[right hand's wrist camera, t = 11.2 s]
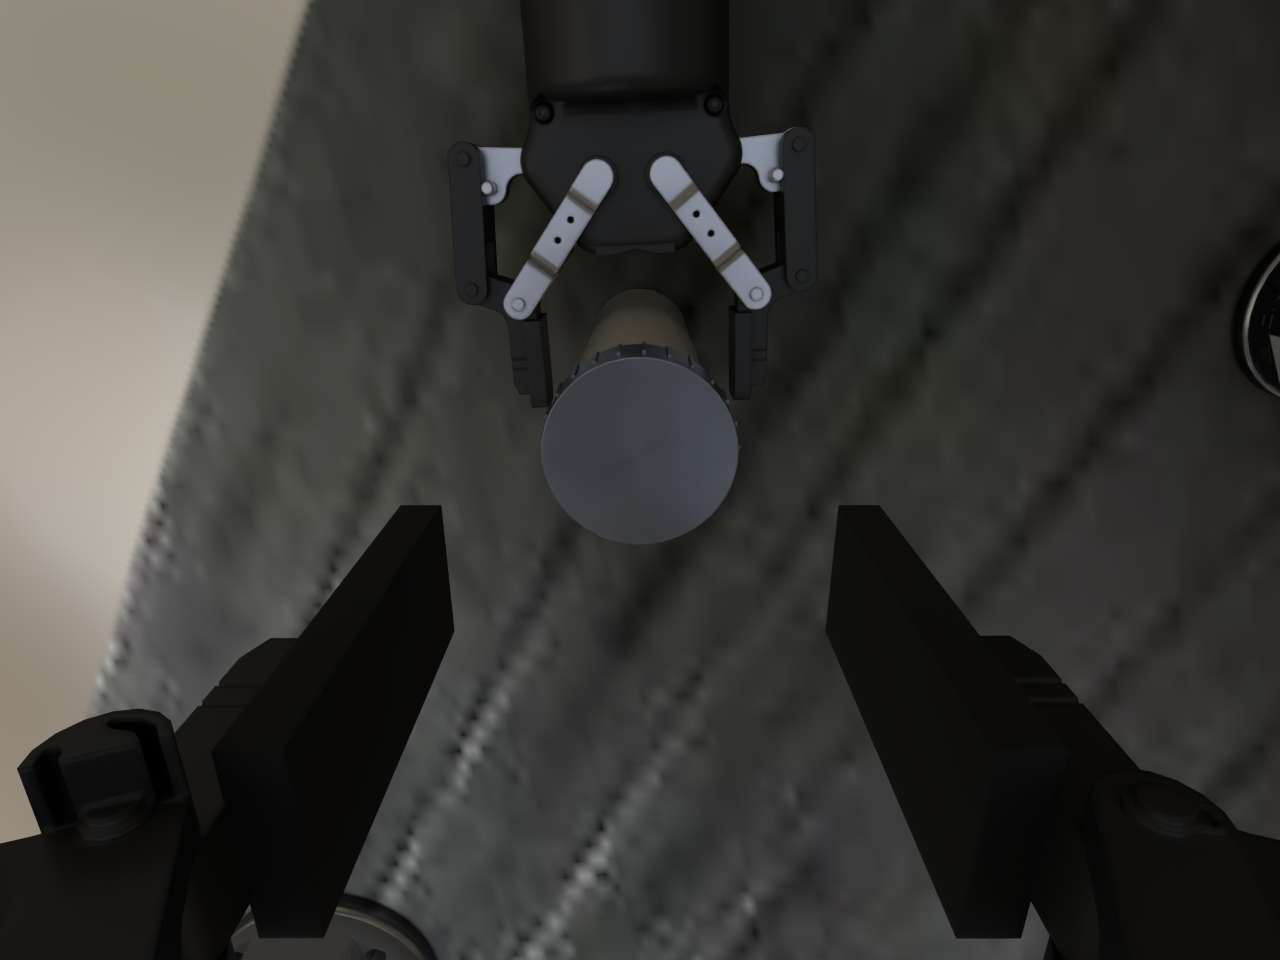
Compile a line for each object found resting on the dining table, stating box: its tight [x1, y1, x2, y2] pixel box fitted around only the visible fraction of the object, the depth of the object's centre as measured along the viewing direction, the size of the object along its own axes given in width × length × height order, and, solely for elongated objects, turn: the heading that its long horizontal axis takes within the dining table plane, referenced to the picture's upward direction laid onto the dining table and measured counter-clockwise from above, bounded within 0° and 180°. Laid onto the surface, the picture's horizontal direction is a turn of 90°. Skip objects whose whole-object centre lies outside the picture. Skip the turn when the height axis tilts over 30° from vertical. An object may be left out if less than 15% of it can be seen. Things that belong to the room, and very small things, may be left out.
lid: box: [540, 341, 740, 544], centre depth 21 cm, size 6×6×2 cm
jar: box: [579, 289, 701, 366], centre depth 29 cm, size 5×5×18 cm
